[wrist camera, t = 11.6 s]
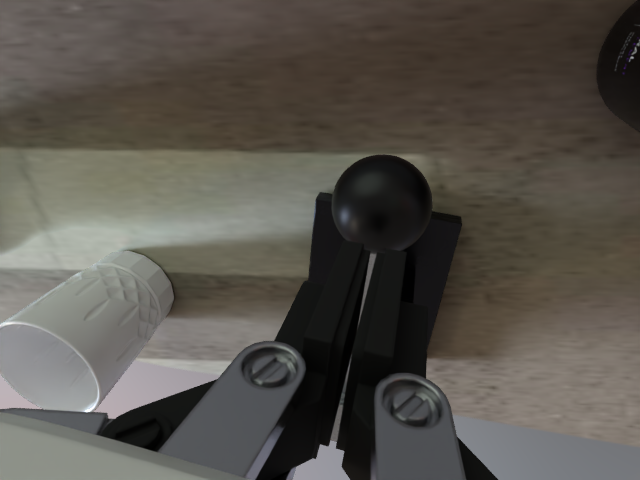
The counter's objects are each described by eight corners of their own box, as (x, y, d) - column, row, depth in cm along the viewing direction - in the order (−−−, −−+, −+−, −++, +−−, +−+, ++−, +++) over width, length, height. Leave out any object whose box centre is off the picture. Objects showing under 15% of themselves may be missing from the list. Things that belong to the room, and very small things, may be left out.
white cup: (158, 237, 33) (61, 317, 24) (195, 321, 36) (121, 418, 28) (78, 248, 35) (-36, 325, 27) (119, 326, 39) (29, 416, 30)
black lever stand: (319, 191, 28) (246, 307, 17) (461, 216, 27) (479, 359, 16) (306, 333, 34) (245, 487, 23) (421, 359, 33) (415, 537, 22)
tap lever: (346, 133, 16) (325, 171, 13) (442, 147, 15) (442, 190, 12) (319, 386, 23) (303, 443, 21) (382, 401, 23) (374, 462, 20)
